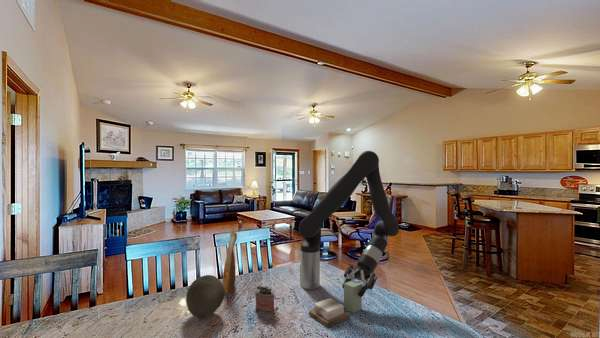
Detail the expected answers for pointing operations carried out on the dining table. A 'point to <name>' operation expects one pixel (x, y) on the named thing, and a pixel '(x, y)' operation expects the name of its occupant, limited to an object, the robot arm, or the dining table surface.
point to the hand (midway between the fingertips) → (351, 292)
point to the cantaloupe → (205, 296)
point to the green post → (352, 296)
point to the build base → (328, 322)
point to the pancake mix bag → (230, 264)
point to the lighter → (264, 300)
